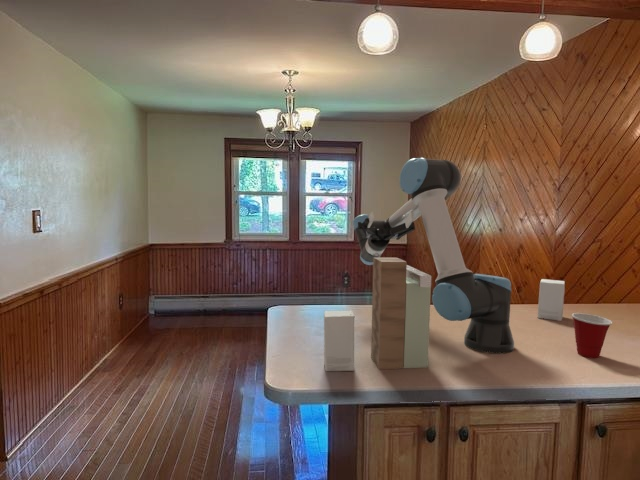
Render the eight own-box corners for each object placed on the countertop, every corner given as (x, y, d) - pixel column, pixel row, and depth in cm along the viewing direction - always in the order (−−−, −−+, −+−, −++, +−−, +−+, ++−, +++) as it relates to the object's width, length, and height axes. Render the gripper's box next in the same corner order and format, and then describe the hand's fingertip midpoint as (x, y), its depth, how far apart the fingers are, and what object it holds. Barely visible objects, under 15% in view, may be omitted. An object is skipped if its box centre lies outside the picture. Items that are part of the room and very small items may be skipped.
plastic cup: (611, 363, 131) (614, 323, 130) (569, 357, 137) (571, 318, 135) (608, 353, 141) (611, 315, 140) (569, 347, 146) (571, 310, 145)
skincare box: (352, 363, 129) (353, 310, 127) (354, 372, 122) (355, 316, 121) (322, 363, 128) (323, 309, 127) (323, 372, 122) (324, 315, 120)
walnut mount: (370, 357, 133) (373, 257, 131) (393, 356, 134) (396, 257, 132) (378, 369, 125) (381, 261, 122) (403, 368, 126) (406, 261, 123)
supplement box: (562, 321, 178) (564, 284, 176) (537, 318, 182) (539, 281, 181) (563, 316, 185) (565, 280, 184) (538, 313, 190) (541, 278, 188)
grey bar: (393, 272, 142) (393, 262, 142) (402, 272, 142) (402, 262, 142) (420, 287, 118) (420, 275, 118) (431, 287, 119) (431, 275, 118)
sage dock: (394, 356, 134) (396, 277, 132) (416, 356, 135) (419, 277, 133) (403, 368, 126) (406, 283, 123) (427, 367, 126) (430, 283, 124)
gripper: (410, 251, 168) (430, 225, 149) (345, 251, 165) (356, 225, 146) (408, 233, 171) (426, 206, 152) (343, 232, 168) (354, 205, 149)
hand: (392, 215), depth 149 cm, fingers open, 13 cm apart
